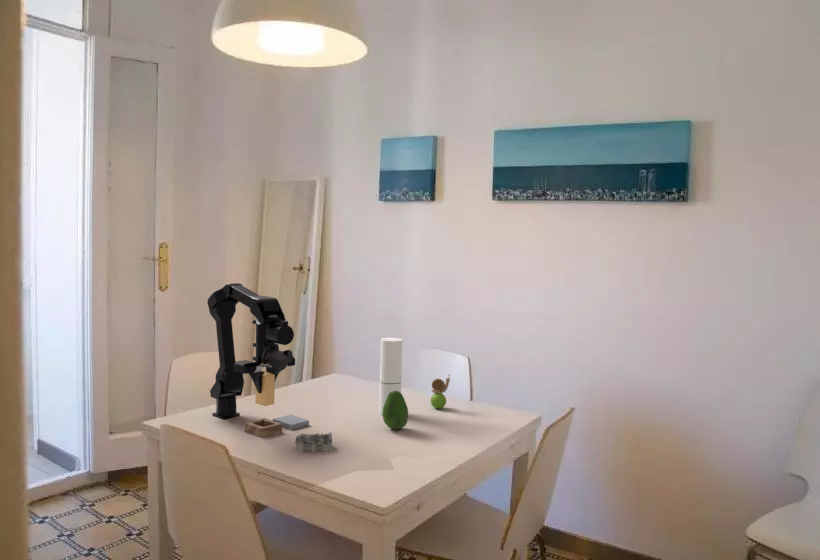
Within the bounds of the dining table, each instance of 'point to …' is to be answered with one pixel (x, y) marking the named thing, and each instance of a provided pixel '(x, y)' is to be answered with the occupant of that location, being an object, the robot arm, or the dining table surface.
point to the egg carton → (314, 442)
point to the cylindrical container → (389, 368)
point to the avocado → (395, 411)
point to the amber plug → (266, 390)
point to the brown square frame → (263, 427)
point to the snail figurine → (439, 393)
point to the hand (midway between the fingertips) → (264, 391)
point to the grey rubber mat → (292, 421)
